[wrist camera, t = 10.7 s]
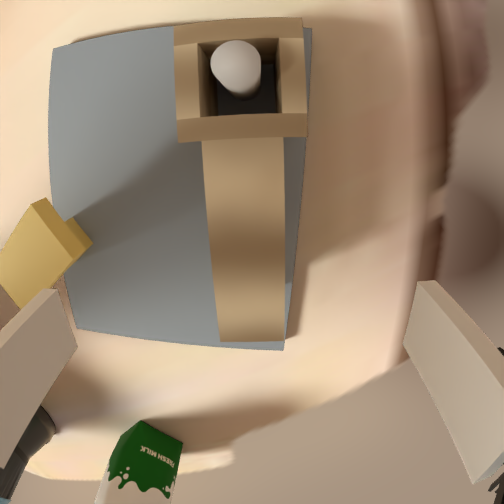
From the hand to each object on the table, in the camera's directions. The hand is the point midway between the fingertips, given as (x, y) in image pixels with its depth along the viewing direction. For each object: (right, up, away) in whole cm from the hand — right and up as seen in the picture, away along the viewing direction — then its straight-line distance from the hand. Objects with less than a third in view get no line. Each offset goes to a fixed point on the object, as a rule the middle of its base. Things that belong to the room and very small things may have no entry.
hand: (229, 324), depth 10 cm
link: (+1, +8, +12) cm, 14 cm away
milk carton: (-14, -24, +27) cm, 39 cm away
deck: (-6, +7, +14) cm, 17 cm away
